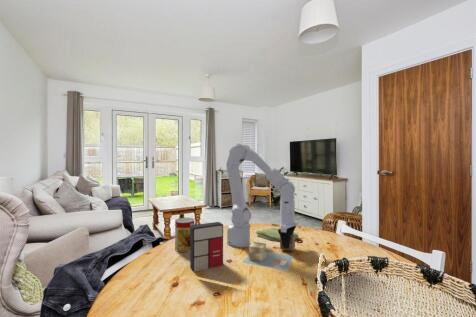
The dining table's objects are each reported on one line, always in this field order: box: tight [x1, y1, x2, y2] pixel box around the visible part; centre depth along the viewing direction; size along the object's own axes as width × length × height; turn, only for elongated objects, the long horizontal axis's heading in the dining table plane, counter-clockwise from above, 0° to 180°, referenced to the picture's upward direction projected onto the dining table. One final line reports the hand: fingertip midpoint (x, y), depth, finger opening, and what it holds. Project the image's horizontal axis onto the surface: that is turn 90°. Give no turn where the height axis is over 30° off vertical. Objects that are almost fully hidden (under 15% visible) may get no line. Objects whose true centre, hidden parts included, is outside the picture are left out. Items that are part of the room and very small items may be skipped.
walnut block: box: [279, 234, 296, 252], centre depth 95 cm, size 5×5×5 cm
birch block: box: [248, 241, 267, 262], centre depth 87 cm, size 5×5×5 cm
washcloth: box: [255, 227, 300, 243], centre depth 113 cm, size 13×18×3 cm
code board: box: [242, 251, 294, 272], centre depth 86 cm, size 16×13×1 cm
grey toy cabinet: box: [189, 221, 224, 273], centre depth 80 cm, size 11×4×15 cm, turn 117°
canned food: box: [174, 217, 195, 253], centre depth 98 cm, size 8×8×12 cm
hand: (287, 245), depth 95 cm, fingers closed on walnut block, 5 cm apart
